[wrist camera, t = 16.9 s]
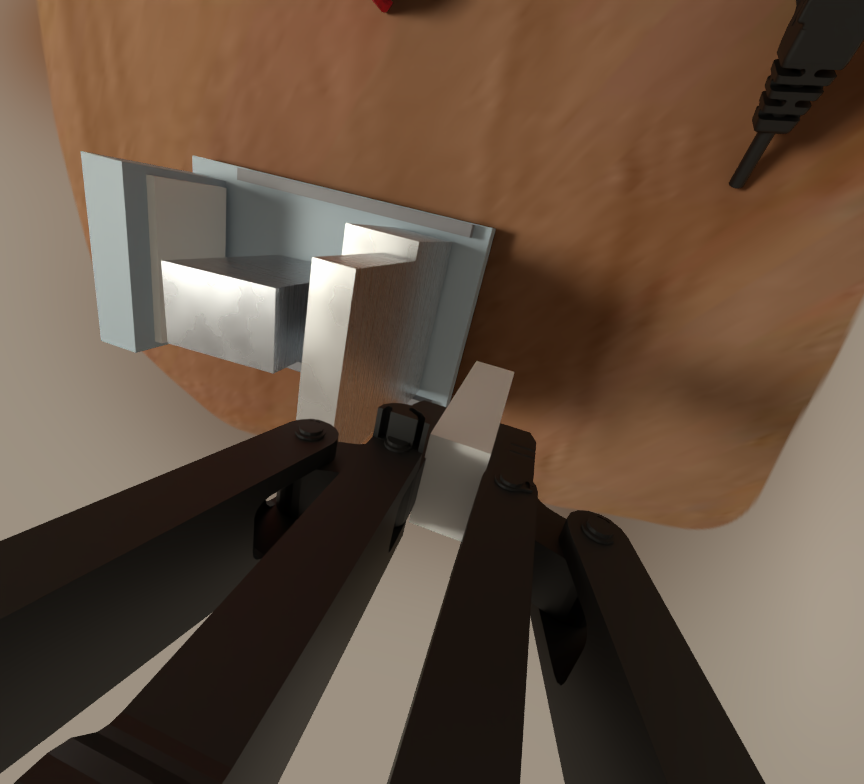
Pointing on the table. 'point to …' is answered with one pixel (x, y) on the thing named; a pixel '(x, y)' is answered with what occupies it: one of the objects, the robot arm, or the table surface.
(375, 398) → the sliding jaw
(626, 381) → the table surface
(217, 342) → the steel block
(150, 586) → the robot arm
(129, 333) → the vise base
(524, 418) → the table surface
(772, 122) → the power plug
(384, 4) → the red device housing
